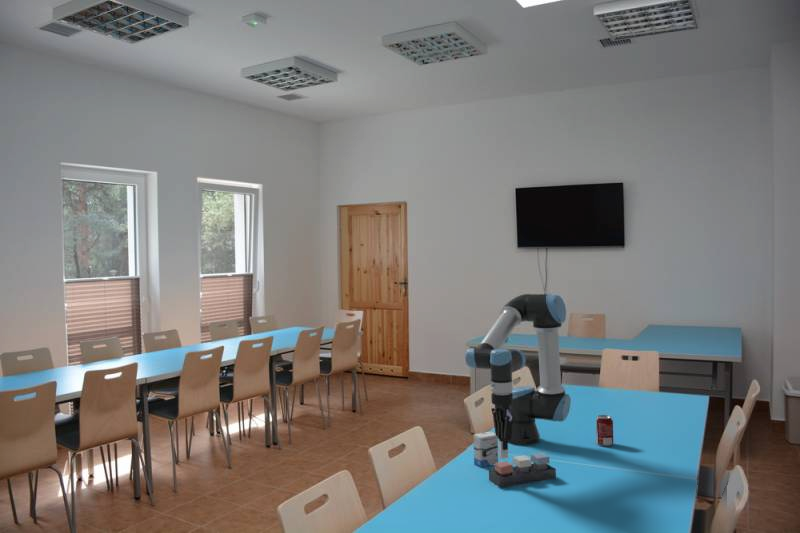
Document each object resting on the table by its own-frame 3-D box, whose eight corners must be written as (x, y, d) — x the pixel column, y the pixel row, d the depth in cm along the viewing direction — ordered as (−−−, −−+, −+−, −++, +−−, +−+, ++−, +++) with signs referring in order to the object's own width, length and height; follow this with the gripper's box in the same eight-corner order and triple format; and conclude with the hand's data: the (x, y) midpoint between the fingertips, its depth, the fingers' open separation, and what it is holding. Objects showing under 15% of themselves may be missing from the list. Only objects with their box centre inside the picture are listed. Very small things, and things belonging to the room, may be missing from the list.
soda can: (614, 447, 257) (613, 418, 257) (597, 446, 259) (597, 418, 258) (612, 442, 264) (611, 414, 264) (595, 441, 265) (595, 414, 265)
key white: (519, 476, 221) (519, 461, 221) (513, 471, 226) (512, 457, 226) (531, 474, 223) (531, 459, 223) (524, 469, 227) (524, 455, 227)
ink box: (481, 468, 237) (480, 437, 237) (473, 464, 242) (472, 434, 242) (499, 464, 241) (498, 434, 241) (491, 460, 246) (490, 430, 245)
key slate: (538, 473, 224) (537, 458, 224) (531, 468, 228) (530, 454, 228) (549, 471, 225) (549, 456, 225) (542, 467, 230) (542, 452, 230)
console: (499, 487, 217) (499, 478, 217) (489, 480, 225) (488, 470, 224) (555, 478, 224) (555, 469, 224) (544, 471, 232) (543, 462, 232)
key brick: (501, 482, 219) (500, 467, 219) (494, 477, 224) (494, 463, 223) (513, 480, 220) (512, 465, 220) (506, 476, 225) (506, 461, 225)
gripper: (484, 389, 226) (486, 453, 227) (501, 397, 214) (503, 465, 215) (502, 387, 229) (504, 450, 230) (520, 395, 216) (522, 461, 217)
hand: (503, 457), depth 222 cm, fingers closed
